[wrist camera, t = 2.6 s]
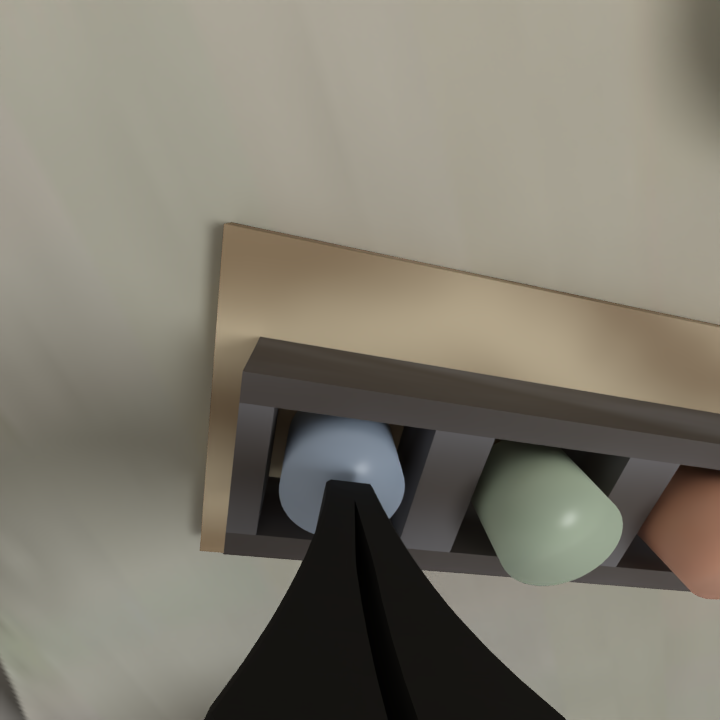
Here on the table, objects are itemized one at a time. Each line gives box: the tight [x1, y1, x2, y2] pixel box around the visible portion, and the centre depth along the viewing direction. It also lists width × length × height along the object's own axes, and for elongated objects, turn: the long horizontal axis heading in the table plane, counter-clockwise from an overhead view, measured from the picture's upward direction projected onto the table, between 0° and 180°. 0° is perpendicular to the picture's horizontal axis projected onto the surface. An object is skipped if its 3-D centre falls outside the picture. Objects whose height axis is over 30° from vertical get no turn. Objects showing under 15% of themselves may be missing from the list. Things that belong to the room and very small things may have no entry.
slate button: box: [279, 411, 405, 534], centre depth 13 cm, size 4×4×3 cm
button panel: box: [200, 222, 720, 592], centre depth 15 cm, size 14×24×4 cm, turn 78°
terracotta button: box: [637, 465, 720, 599], centre depth 14 cm, size 4×4×3 cm
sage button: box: [470, 440, 623, 586], centre depth 13 cm, size 4×4×3 cm
